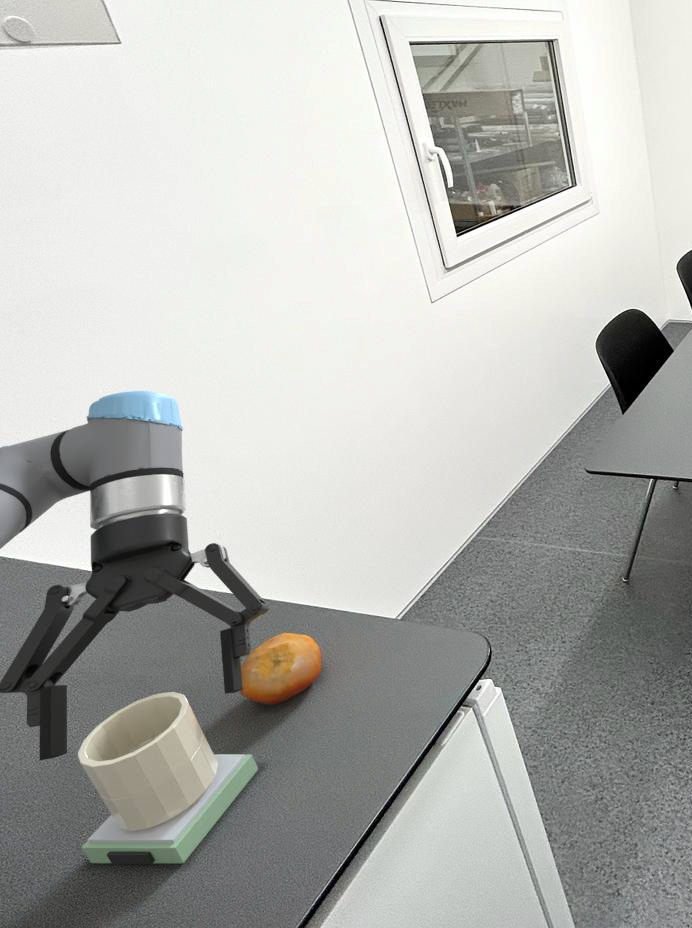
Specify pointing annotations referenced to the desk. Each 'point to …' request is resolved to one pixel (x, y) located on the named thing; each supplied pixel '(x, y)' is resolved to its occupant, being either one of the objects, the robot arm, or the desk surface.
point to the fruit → (280, 668)
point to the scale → (174, 822)
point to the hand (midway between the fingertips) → (148, 723)
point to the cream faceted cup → (149, 761)
